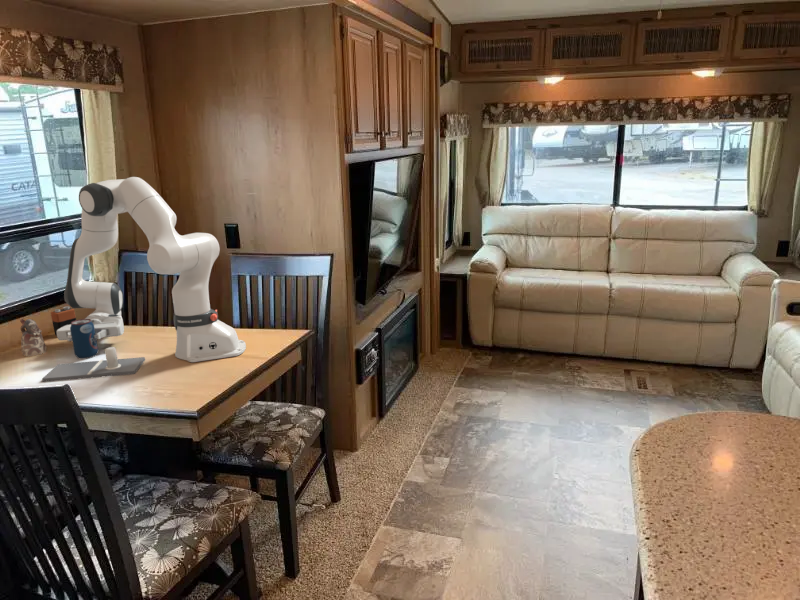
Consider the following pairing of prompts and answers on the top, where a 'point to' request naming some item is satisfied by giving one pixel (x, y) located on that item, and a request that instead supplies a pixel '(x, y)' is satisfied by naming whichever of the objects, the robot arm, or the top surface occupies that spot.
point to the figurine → (31, 338)
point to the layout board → (95, 367)
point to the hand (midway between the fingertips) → (83, 338)
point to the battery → (62, 317)
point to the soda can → (83, 338)
